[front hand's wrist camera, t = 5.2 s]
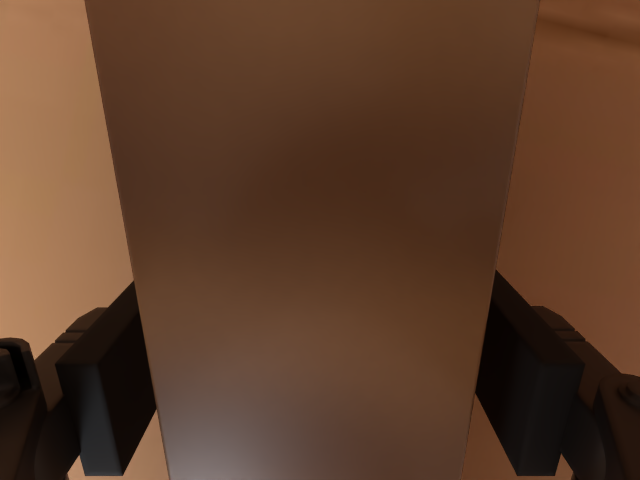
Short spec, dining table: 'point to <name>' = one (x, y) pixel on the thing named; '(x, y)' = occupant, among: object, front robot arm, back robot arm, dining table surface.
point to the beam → (313, 222)
